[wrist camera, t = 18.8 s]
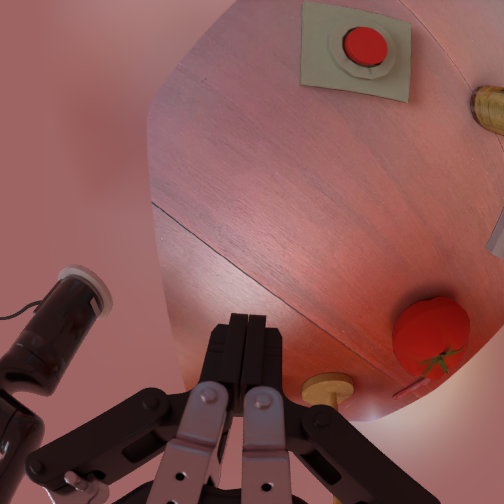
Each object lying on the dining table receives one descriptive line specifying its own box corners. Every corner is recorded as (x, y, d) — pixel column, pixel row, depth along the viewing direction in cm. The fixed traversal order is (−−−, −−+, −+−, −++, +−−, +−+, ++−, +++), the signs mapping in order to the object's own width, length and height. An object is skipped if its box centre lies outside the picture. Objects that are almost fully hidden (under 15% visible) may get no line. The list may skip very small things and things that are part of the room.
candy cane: (382, 390, 55) (383, 395, 54) (437, 357, 48) (439, 362, 47) (394, 396, 57) (395, 401, 56) (445, 365, 50) (447, 370, 49)
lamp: (298, 398, 58) (294, 518, 33) (306, 372, 52) (305, 514, 28) (372, 396, 57) (385, 508, 32) (389, 370, 51) (411, 498, 26)
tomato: (389, 291, 40) (411, 349, 30) (463, 277, 38) (494, 326, 28) (381, 345, 47) (395, 398, 37) (446, 331, 44) (467, 378, 34)
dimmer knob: (235, 398, 55) (232, 417, 51) (233, 395, 54) (230, 414, 50) (258, 398, 54) (256, 418, 50) (257, 395, 53) (255, 414, 49)
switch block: (299, 85, 27) (302, 84, 24) (301, 6, 22) (304, -4, 18) (400, 101, 26) (415, 104, 23) (403, 26, 21) (417, 20, 18)
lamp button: (343, 61, 22) (347, 59, 21) (344, 26, 20) (348, 23, 19) (381, 69, 22) (387, 68, 20) (382, 34, 20) (388, 32, 18)
